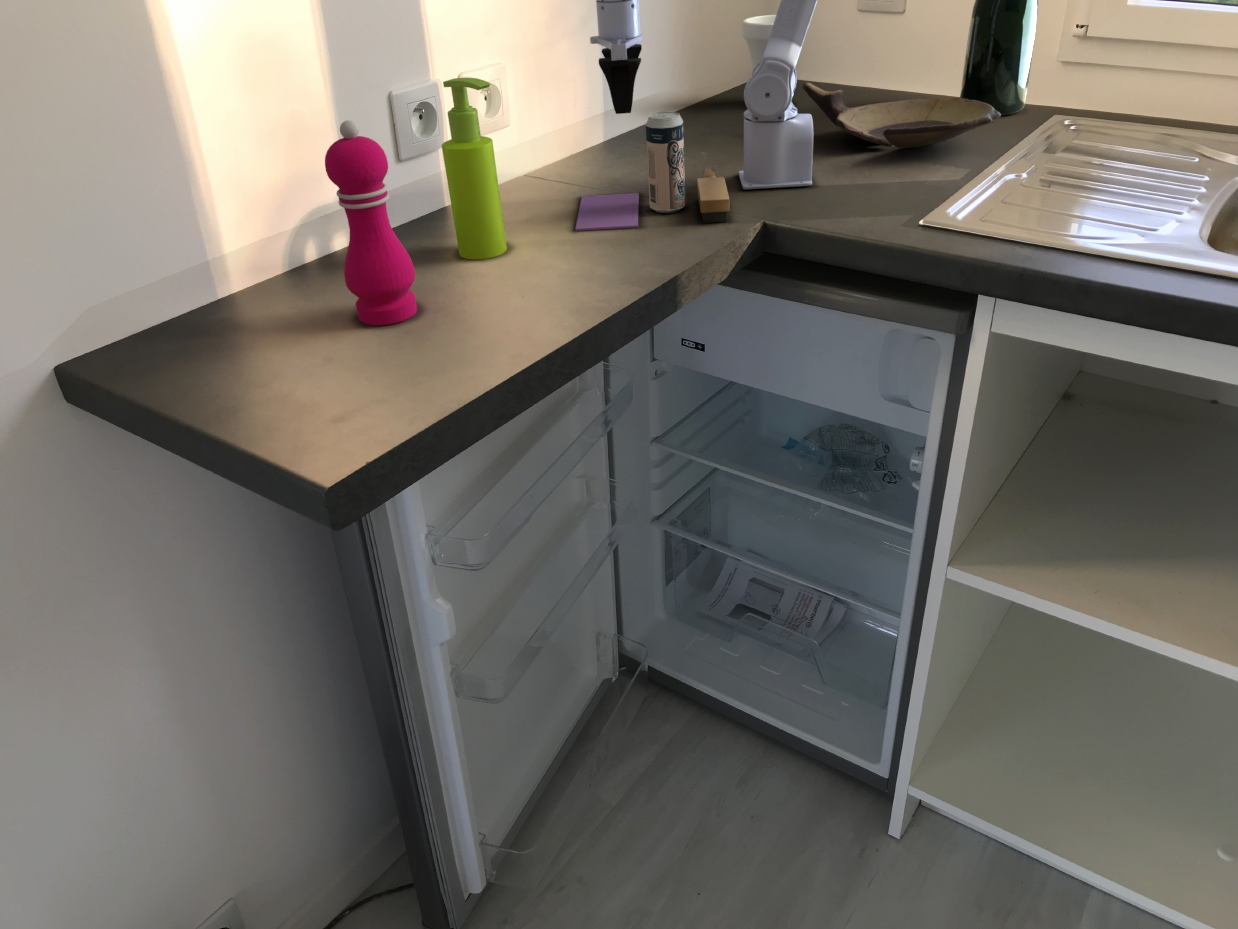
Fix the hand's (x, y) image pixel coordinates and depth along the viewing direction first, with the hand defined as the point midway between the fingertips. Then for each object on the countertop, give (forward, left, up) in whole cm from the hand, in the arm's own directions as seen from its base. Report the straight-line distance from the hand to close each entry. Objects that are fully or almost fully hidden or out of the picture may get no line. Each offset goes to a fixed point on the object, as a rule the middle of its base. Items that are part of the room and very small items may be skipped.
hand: (623, 106), depth 131 cm
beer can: (-6, +14, -11) cm, 18 cm away
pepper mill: (+25, +45, -11) cm, 53 cm away
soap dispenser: (+17, +27, -11) cm, 34 cm away
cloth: (+2, +14, -10) cm, 18 cm away
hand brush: (-11, +13, -10) cm, 20 cm away
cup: (-26, -46, -11) cm, 54 cm away
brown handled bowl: (-42, -14, -11) cm, 46 cm away
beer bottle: (-61, -30, -11) cm, 69 cm away
